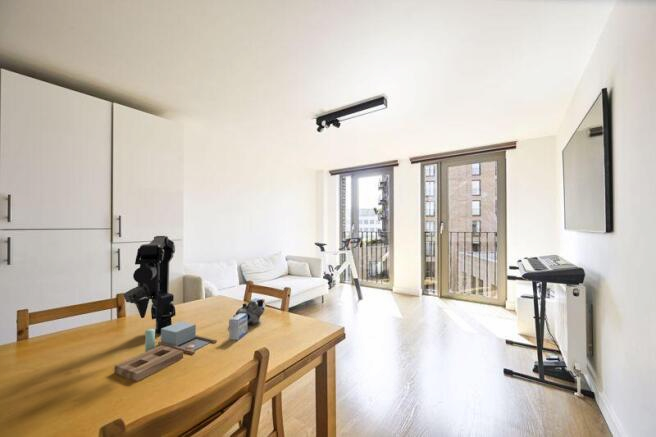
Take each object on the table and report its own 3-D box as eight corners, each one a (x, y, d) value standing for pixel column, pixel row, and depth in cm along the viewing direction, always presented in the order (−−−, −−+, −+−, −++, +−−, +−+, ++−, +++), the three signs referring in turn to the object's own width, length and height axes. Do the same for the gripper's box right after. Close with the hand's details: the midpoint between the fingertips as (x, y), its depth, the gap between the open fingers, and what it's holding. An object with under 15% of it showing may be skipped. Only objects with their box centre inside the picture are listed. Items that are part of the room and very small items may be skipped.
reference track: (157, 344, 110) (157, 342, 110) (182, 334, 121) (182, 331, 121) (193, 354, 102) (193, 351, 102) (216, 342, 113) (216, 339, 113)
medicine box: (238, 340, 114) (238, 319, 114) (228, 339, 115) (228, 319, 115) (247, 333, 122) (247, 313, 122) (238, 332, 123) (238, 312, 123)
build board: (114, 372, 90) (114, 365, 90) (161, 351, 105) (161, 345, 105) (137, 381, 85) (137, 373, 85) (183, 358, 100) (183, 351, 100)
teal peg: (143, 355, 102) (143, 331, 102) (151, 351, 105) (151, 328, 105) (148, 356, 101) (148, 332, 101) (156, 353, 103) (156, 329, 103)
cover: (161, 342, 111) (161, 328, 112) (180, 333, 120) (180, 321, 120) (176, 346, 108) (176, 332, 108) (195, 337, 116) (195, 324, 116)
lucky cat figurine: (240, 316, 143) (253, 291, 146) (259, 327, 140) (272, 301, 144) (228, 318, 128) (243, 290, 132) (250, 330, 126) (264, 301, 130)
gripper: (111, 280, 99) (111, 323, 99) (144, 284, 92) (144, 331, 92) (143, 274, 110) (143, 313, 109) (174, 278, 102) (174, 320, 102)
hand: (150, 319), depth 103 cm, fingers open, 9 cm apart
